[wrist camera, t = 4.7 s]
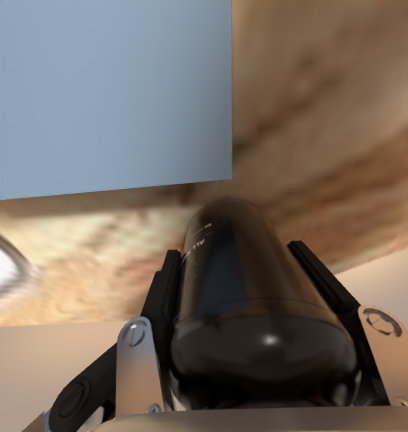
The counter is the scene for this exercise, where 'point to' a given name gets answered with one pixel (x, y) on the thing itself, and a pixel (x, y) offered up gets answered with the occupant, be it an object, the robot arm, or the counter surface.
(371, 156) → the counter surface
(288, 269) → the supplement bottle
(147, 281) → the counter surface
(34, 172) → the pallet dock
